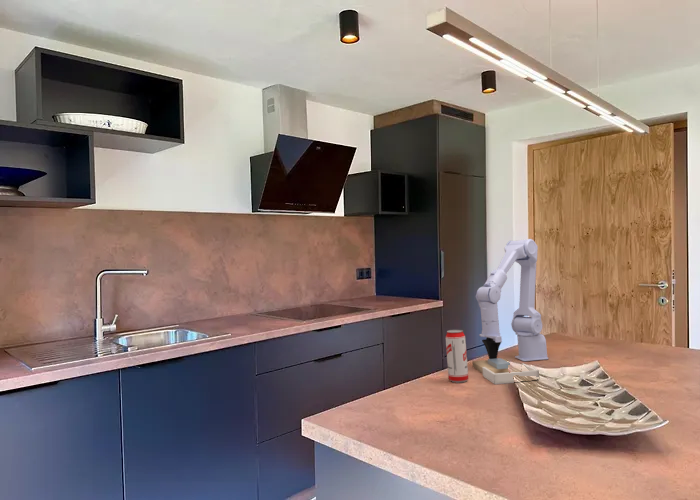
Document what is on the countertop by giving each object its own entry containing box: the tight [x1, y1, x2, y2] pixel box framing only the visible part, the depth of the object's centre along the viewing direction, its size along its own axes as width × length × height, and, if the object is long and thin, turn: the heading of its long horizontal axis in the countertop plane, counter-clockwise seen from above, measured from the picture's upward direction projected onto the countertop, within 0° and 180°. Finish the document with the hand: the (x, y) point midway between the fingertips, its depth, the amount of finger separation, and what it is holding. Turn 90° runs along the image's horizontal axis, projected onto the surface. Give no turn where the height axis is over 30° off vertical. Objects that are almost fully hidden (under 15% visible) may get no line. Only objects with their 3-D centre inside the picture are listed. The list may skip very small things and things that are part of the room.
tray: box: [482, 362, 540, 385], centre depth 155 cm, size 14×11×3 cm
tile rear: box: [487, 357, 505, 366], centre depth 167 cm, size 4×4×2 cm
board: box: [471, 358, 510, 375], centre depth 168 cm, size 12×14×2 cm
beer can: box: [445, 329, 469, 384], centre depth 157 cm, size 6×6×16 cm
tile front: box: [492, 361, 510, 369], centre depth 162 cm, size 4×4×2 cm
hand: (493, 360), depth 170 cm, fingers closed
